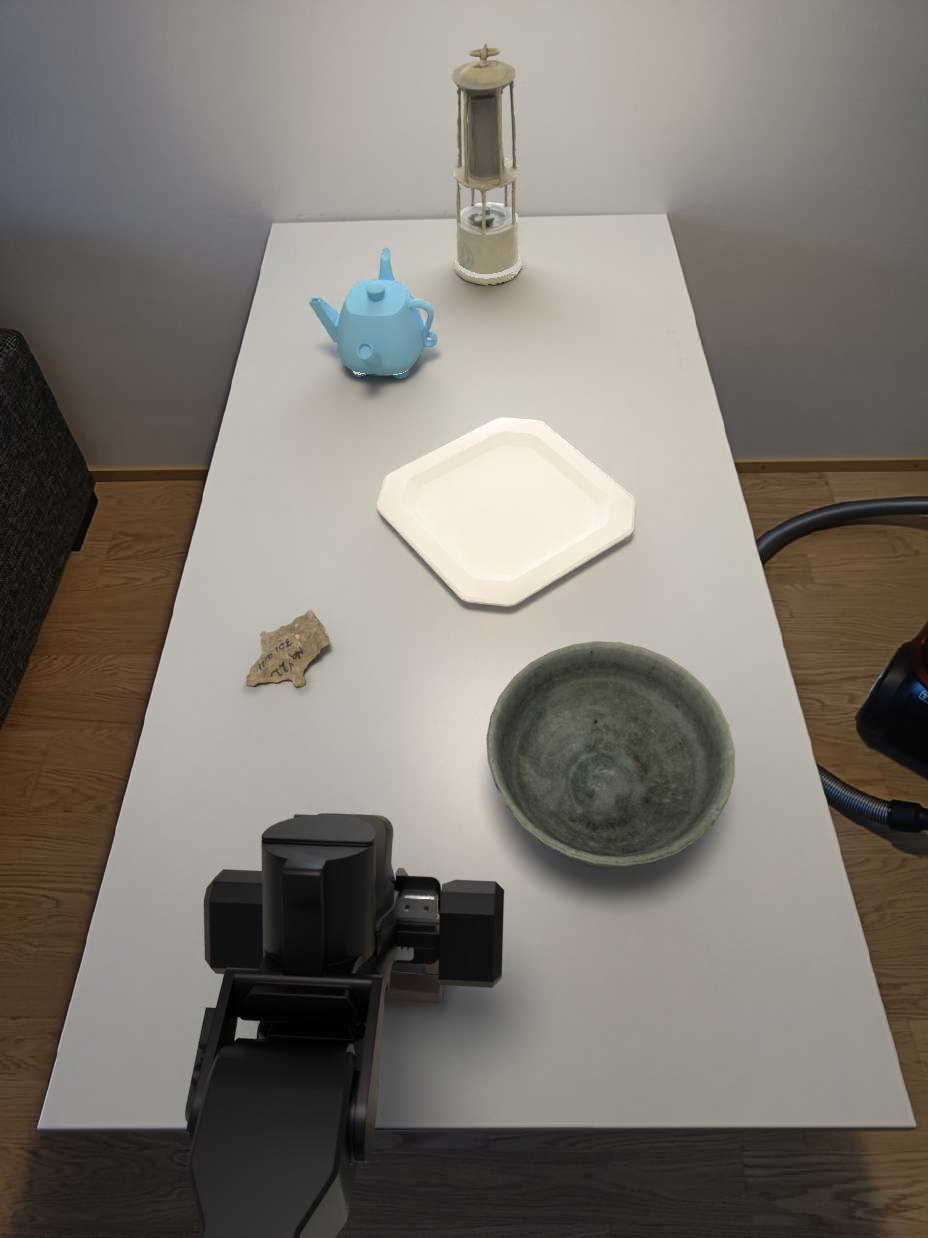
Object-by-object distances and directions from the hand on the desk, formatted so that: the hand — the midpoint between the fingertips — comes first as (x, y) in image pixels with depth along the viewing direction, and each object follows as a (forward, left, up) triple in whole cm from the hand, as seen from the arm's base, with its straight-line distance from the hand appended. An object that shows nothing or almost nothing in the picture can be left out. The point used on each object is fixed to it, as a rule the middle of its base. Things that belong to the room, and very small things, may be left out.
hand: (376, 873), depth 64 cm
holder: (-1, -1, -13) cm, 14 cm away
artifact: (+24, +20, -14) cm, 34 cm away
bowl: (+18, -14, -14) cm, 26 cm away
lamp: (+101, +21, -14) cm, 104 cm away
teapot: (+73, +29, -14) cm, 80 cm away
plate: (+50, +4, -14) cm, 51 cm away
